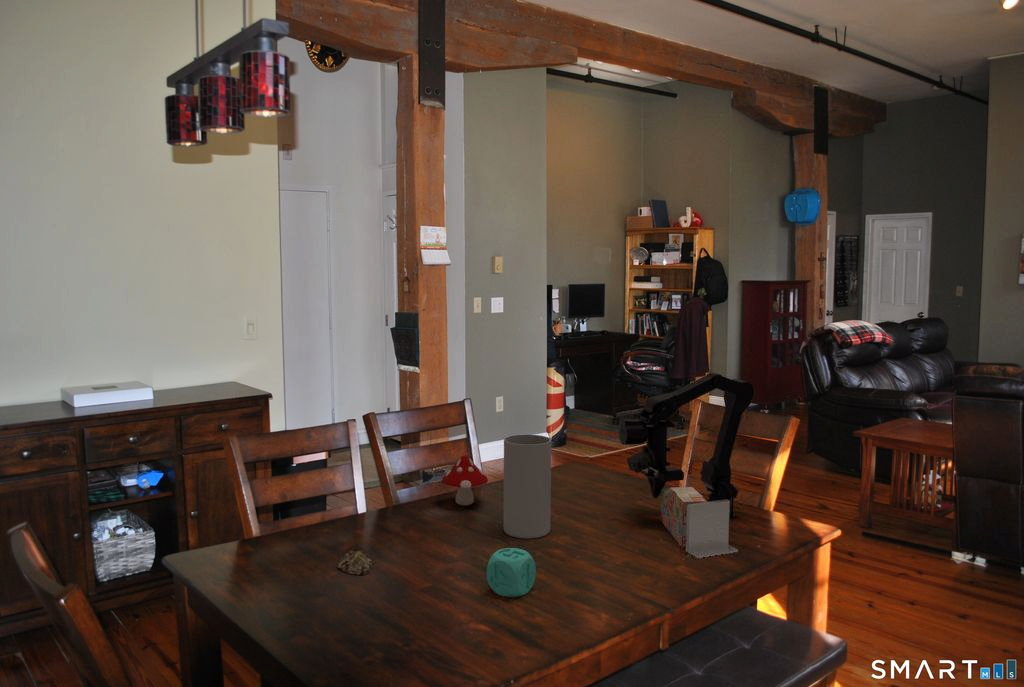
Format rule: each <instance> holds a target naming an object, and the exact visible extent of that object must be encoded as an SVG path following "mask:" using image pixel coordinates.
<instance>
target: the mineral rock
mask: <svg viewBox="0 0 1024 687" xmlns="http://www.w3.org/2000/svg"><path fill="white" fill-rule="evenodd" d="M373 563H374V562H373V560H372V559H371V558H369V557H368V555H365V554H364V553H363V552H362V551H360V550H358V551H354V550H350V551H349V552H348V553H345V554H344V555H343V556H342V557H341V559H340V560H339V562H338V563H337V569H340V570H342V571H343V572H345V573H347V574H350V575H358V576H360V575H364V576H366V575H367V574H369V573H370V572H371V567H370V566H373Z"/></svg>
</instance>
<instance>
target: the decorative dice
mask: <svg viewBox="0 0 1024 687" xmlns="http://www.w3.org/2000/svg"><path fill="white" fill-rule="evenodd" d="M536 574H537V565H536V562H535V560H534V558H533V557H532V555H531V554H530V553H529V552H528V551H526V550H525V549H521V548H517V547H506V548H501V549H497V550H495V552H493V554H492V555H491V556H490V559H489V560H488V564H487V566H486V580H487V583H488V585H489V587H490V588H491V590H492V591H493V592H494V593H495V594H497V595H499V596H501V597H507V598H517V597H522V596H525V595H527V594H528V593H529V592H530V591H531V589H532V588H533V585H534V583H535V579H536Z"/></svg>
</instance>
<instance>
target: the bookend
mask: <svg viewBox="0 0 1024 687" xmlns="http://www.w3.org/2000/svg"><path fill="white" fill-rule="evenodd" d="M729 507H730V501H729V500H727V499H726V500H718V501H711V502H708V501H707V502H703V503H696V504H688V505H687V523H686V548H685V552H686V553H687V552H688V553H687V554H689V555H691V556H692V555H693V556H692V557H694V556H695V557H694V558H696V559H698V558H699V559H703V557H705V558H710V557H709V556H711V557H716V556H715V555H717V556H722V555H721V554H723V555H728V554H734V552H735V553H738V552H739V550H738V549H737V548H736V547H733V546H732V545H731V544H729V538H730V537H729V534H730V532H729V531H730V530H729V529H730V518H729Z"/></svg>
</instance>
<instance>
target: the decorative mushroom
mask: <svg viewBox="0 0 1024 687" xmlns="http://www.w3.org/2000/svg"><path fill="white" fill-rule="evenodd" d="M488 481H489V480H488V477H487V476H486V474H485V472H484V471H483V470H481V469H480V468H479V467H478V466H477V465H476V464H475V463H474V461H473V460H472V459H471V457H469V456H468V455H465V454H464V455H461V456H460V457H459V458H458V459H457V460H456V462H455V463H454V465H453V466H452V467H451V468H450V469H448V471H447V472H446V473H445V474H444V475H443V477H442V478H441V483H442V484H443V485H445V486H447V487H451V488H456V489H457V491H456V495H455V503H456V504H457V505H459V506H464V507H467V506H470V505H472V504H473V503H474V501H475V498H474V493H473V490H472V488H477V487H482V486H484V485H485V484H487V483H488Z"/></svg>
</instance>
